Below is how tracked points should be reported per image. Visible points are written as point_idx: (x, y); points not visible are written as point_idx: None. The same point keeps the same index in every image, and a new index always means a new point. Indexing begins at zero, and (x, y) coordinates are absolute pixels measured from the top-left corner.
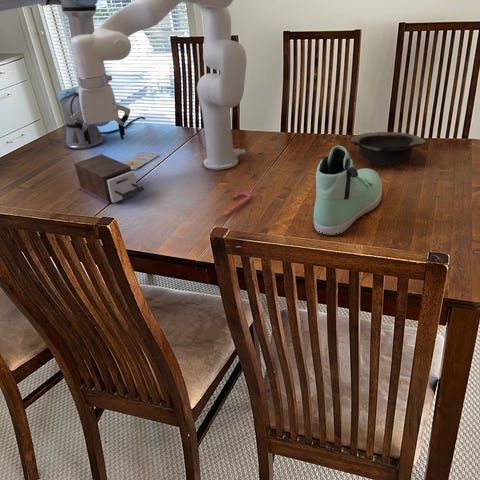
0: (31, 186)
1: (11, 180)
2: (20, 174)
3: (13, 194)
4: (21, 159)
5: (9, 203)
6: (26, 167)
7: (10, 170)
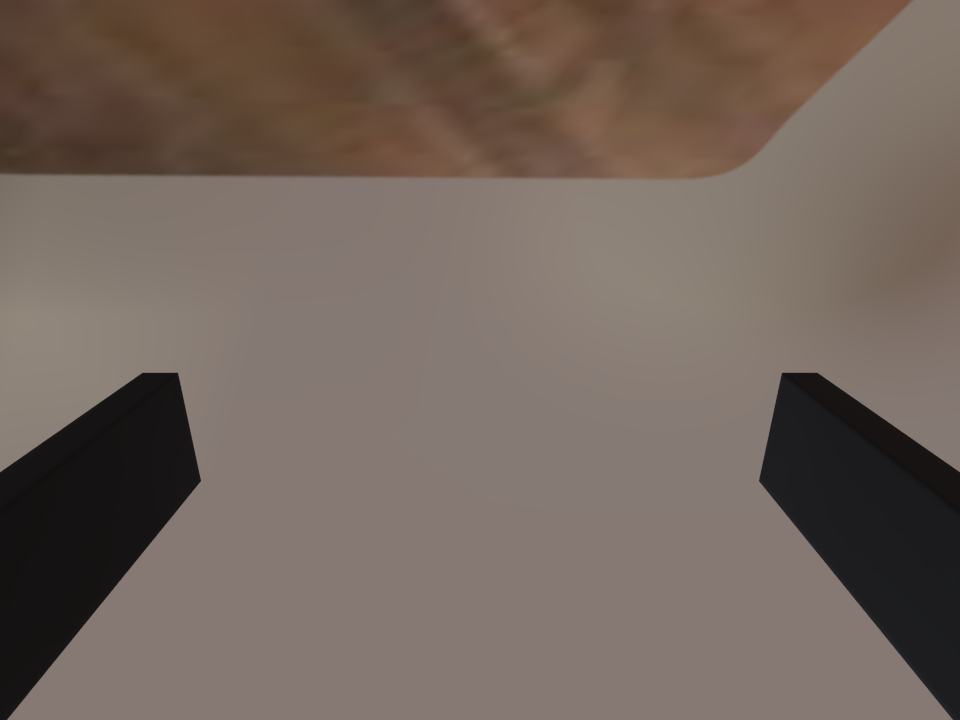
0: (583, 12)
1: (410, 135)
2: (334, 75)
3: (638, 128)
4: (40, 58)
5: (750, 153)
6: (219, 28)
7: (230, 138)
